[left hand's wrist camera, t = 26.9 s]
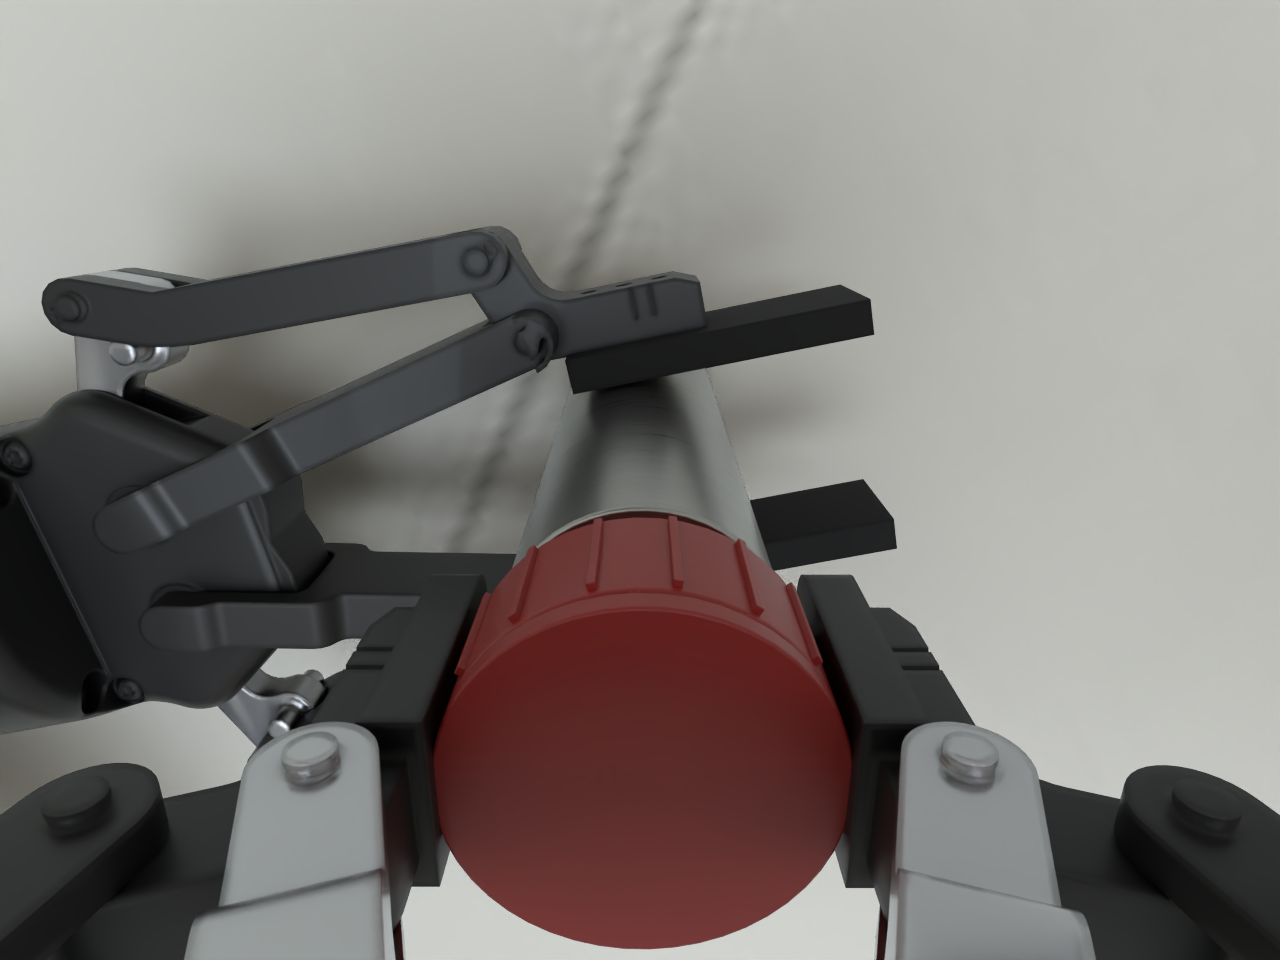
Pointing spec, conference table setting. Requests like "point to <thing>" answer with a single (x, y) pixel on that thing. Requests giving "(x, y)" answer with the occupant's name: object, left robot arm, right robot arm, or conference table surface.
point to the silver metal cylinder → (643, 463)
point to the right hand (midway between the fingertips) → (865, 414)
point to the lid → (642, 739)
